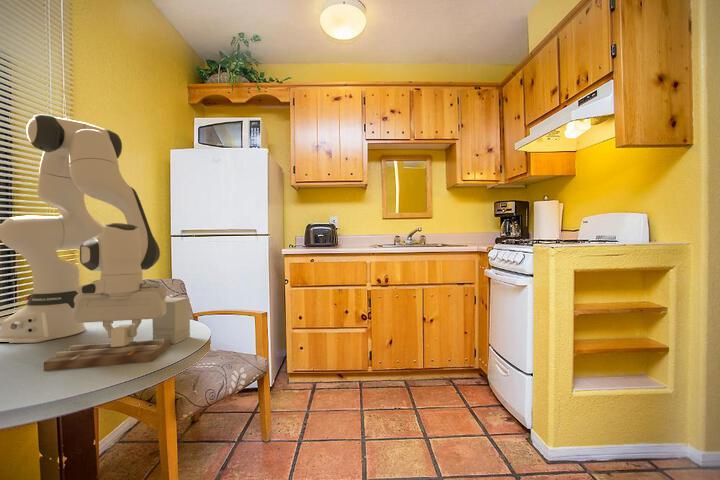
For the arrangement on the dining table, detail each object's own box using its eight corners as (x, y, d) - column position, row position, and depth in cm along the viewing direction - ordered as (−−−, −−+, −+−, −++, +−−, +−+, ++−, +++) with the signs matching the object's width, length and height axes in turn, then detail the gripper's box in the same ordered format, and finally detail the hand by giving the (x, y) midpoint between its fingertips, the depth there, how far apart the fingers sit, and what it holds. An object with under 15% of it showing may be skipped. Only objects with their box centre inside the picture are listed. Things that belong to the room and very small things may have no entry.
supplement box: (190, 337, 100) (190, 297, 100) (175, 344, 93) (174, 301, 93) (169, 336, 101) (168, 297, 101) (151, 344, 94) (151, 301, 94)
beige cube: (106, 351, 80) (106, 330, 80) (116, 345, 85) (116, 325, 85) (128, 349, 82) (128, 328, 82) (137, 343, 86) (137, 323, 86)
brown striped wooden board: (43, 370, 75) (43, 357, 75) (77, 353, 86) (76, 342, 86) (152, 361, 80) (152, 349, 80) (170, 346, 91) (170, 335, 91)
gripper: (170, 281, 89) (170, 330, 89) (85, 284, 84) (85, 336, 84) (161, 284, 83) (161, 337, 83) (69, 287, 78) (69, 343, 78)
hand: (122, 337), depth 83 cm, fingers closed on beige cube, 3 cm apart
